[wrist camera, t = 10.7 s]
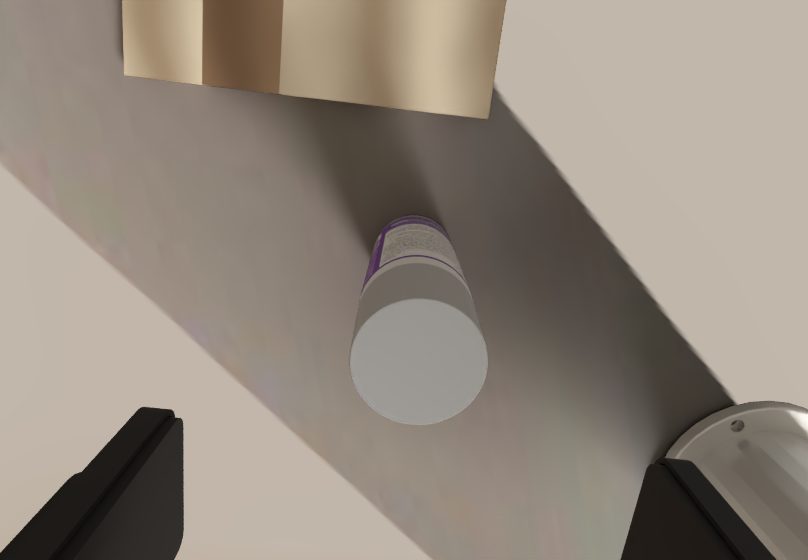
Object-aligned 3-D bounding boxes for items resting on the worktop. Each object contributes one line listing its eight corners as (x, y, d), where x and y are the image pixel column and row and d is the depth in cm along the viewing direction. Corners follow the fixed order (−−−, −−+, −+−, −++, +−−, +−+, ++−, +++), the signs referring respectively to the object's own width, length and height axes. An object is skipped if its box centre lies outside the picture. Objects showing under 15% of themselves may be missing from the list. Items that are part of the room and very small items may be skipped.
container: (414, 307, 32) (421, 454, 18) (356, 256, 31) (314, 366, 17) (469, 252, 31) (522, 361, 17) (411, 197, 30) (415, 263, 16)
